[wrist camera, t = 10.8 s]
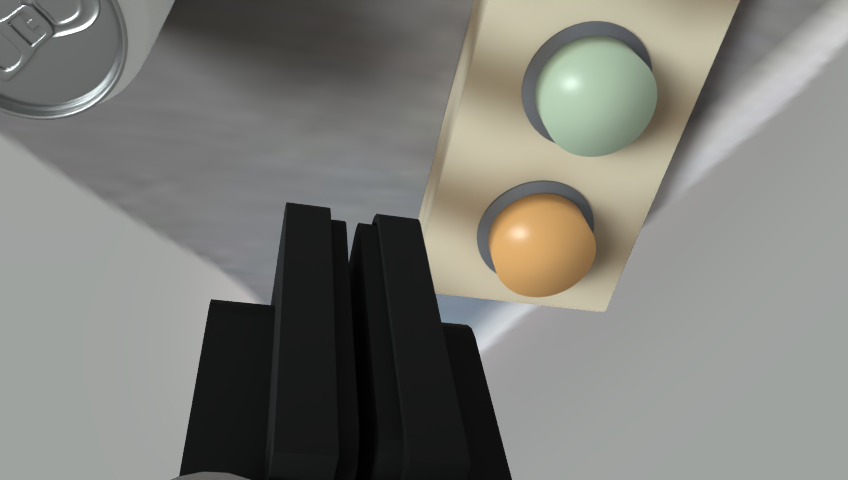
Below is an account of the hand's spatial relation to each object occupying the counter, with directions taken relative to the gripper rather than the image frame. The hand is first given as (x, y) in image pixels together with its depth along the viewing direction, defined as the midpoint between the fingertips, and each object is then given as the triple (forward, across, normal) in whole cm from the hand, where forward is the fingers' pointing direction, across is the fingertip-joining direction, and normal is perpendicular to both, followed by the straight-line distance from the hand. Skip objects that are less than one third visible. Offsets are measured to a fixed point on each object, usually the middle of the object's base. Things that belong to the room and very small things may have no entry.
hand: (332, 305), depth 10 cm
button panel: (+27, -13, +5) cm, 30 cm away
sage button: (+24, -13, +5) cm, 28 cm away
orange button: (+24, -13, +13) cm, 30 cm away
